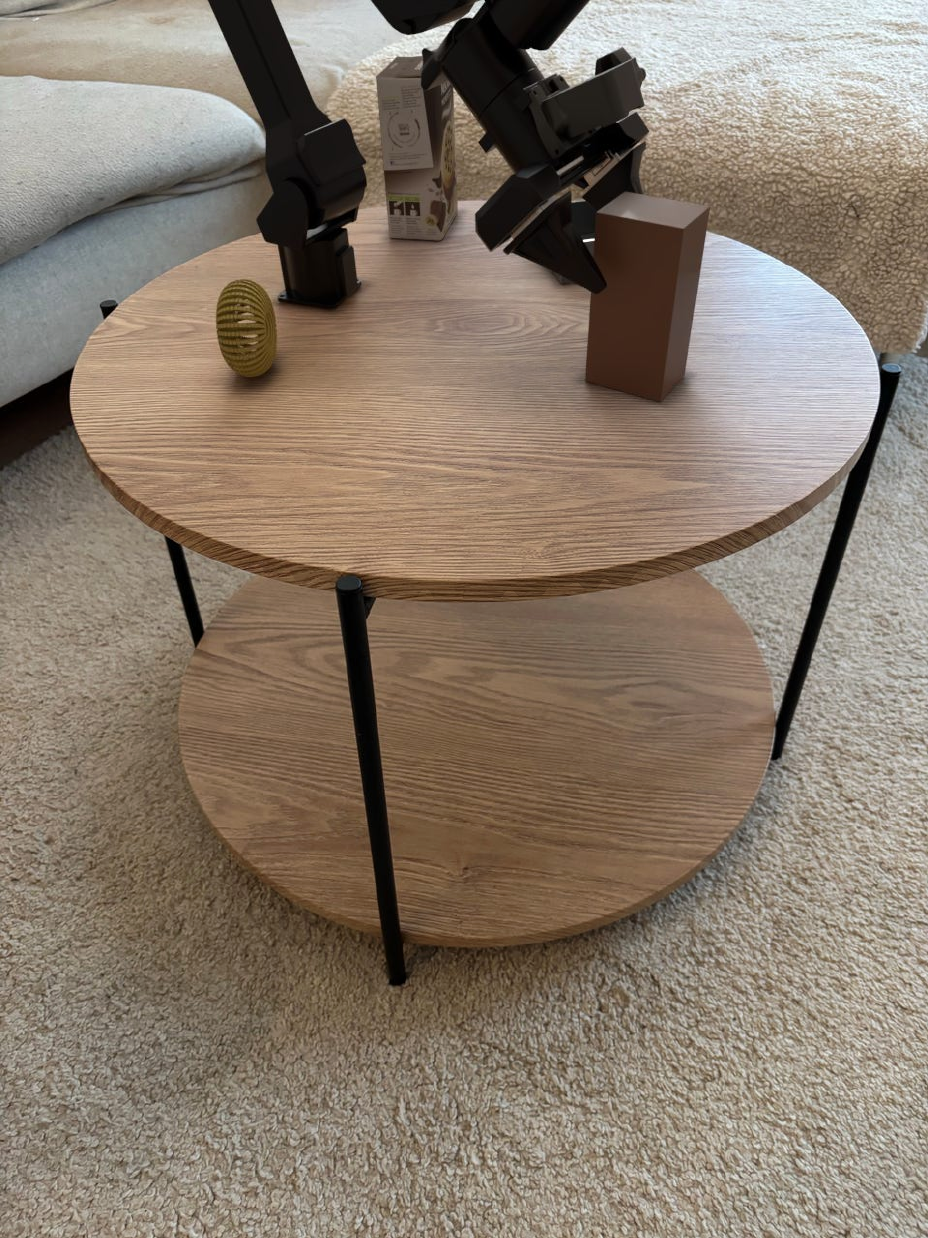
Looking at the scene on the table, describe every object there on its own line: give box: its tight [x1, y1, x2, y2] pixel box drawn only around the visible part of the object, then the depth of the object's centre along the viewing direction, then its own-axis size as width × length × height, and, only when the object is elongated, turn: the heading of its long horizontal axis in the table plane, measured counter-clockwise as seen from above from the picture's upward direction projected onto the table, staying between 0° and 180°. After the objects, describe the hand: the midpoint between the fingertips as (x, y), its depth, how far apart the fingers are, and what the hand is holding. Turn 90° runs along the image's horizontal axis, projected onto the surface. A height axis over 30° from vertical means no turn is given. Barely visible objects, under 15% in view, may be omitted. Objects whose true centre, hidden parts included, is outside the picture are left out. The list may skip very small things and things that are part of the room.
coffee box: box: [375, 55, 459, 242], centre depth 98 cm, size 9×6×16 cm
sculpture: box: [215, 278, 278, 378], centre depth 77 cm, size 8×4×8 cm, turn 179°
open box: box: [551, 198, 597, 285], centre depth 95 cm, size 11×11×4 cm
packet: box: [584, 191, 711, 403], centre depth 72 cm, size 7×5×14 cm
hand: (628, 268), depth 71 cm, fingers open, 9 cm apart
